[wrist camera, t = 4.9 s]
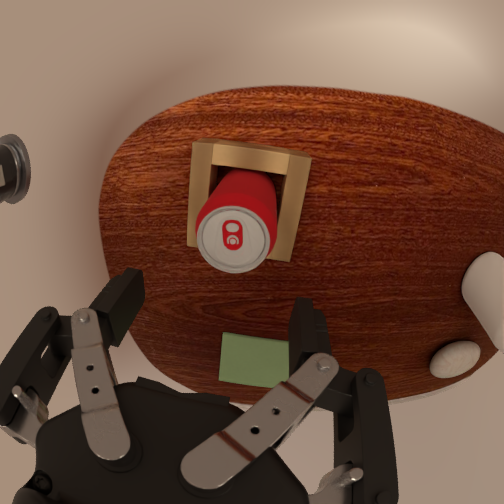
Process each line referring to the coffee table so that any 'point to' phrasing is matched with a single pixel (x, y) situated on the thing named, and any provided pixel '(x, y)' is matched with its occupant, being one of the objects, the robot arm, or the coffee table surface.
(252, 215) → the beverage can
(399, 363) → the coffee table surface
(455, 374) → the decorative stone
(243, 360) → the pad
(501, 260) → the wine bottle
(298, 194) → the stand
